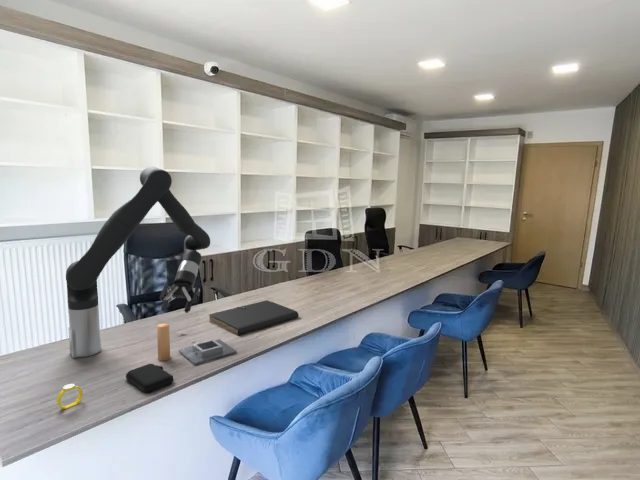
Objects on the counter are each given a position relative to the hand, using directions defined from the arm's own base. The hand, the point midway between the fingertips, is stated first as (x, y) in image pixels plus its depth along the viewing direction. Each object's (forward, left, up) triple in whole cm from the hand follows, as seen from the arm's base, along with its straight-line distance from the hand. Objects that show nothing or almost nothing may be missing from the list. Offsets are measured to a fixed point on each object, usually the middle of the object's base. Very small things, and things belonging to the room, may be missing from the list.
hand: (174, 311), depth 142 cm
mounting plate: (+7, -12, -14) cm, 20 cm away
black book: (+39, +8, -15) cm, 43 cm away
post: (-7, -7, -14) cm, 17 cm away
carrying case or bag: (-15, -20, -15) cm, 29 cm away
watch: (-37, -21, -14) cm, 44 cm away
